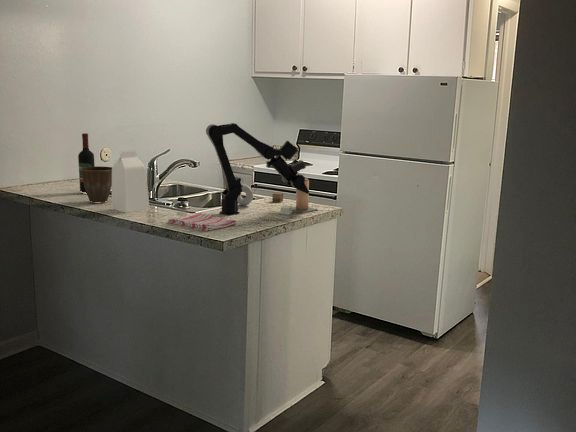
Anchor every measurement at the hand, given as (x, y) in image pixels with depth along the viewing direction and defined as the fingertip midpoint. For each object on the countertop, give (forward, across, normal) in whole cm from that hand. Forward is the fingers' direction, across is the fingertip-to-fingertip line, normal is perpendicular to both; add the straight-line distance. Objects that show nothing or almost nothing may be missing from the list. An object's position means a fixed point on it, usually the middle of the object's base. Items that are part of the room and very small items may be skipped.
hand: (305, 191), depth 273 cm
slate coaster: (+5, 0, +7) cm, 9 cm away
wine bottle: (-61, +63, +74) cm, 115 cm away
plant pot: (-57, +37, +70) cm, 97 cm away
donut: (-11, +16, +24) cm, 31 cm away
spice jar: (+5, 0, +7) cm, 8 cm away
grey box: (-1, -4, +13) cm, 14 cm away
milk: (-48, +17, +60) cm, 78 cm away
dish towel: (-28, -18, +42) cm, 54 cm away
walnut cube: (+2, +23, +11) cm, 26 cm away
